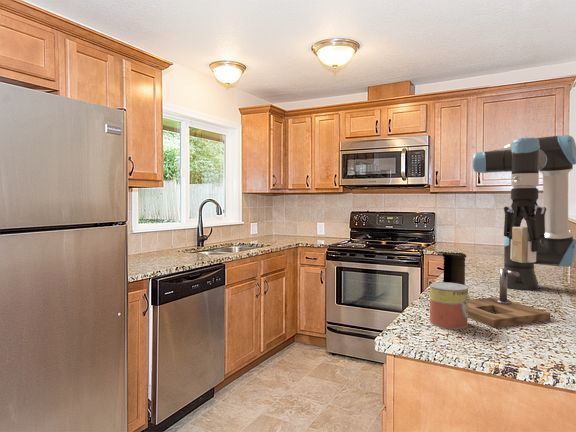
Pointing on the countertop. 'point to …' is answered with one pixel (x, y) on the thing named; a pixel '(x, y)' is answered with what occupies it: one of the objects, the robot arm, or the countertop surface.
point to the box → (520, 244)
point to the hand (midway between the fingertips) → (522, 260)
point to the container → (454, 268)
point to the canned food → (449, 305)
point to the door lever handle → (505, 285)
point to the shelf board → (503, 313)
